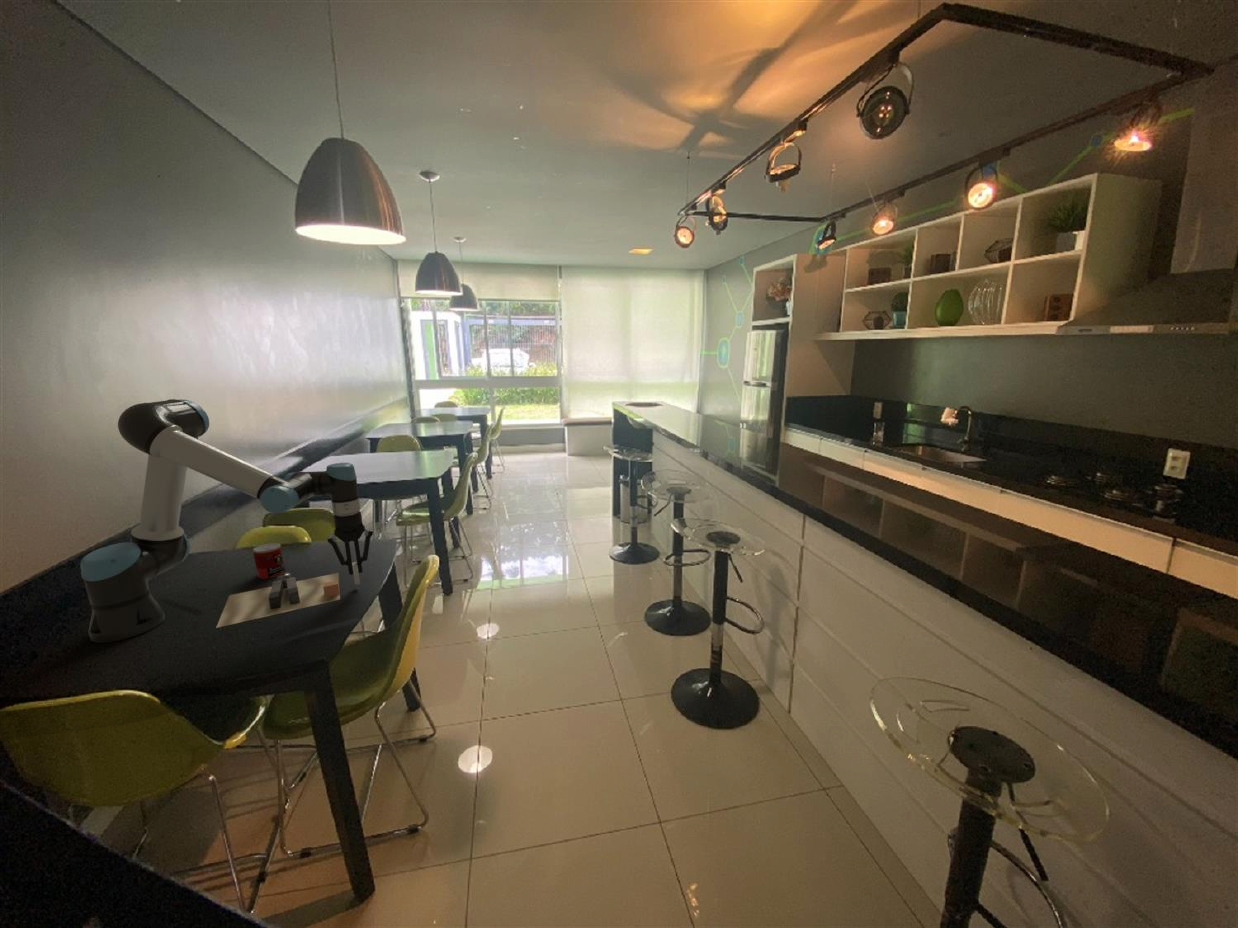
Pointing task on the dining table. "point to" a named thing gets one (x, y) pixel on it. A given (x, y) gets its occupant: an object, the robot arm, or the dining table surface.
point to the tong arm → (293, 591)
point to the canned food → (268, 560)
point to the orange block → (331, 588)
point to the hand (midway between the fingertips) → (357, 582)
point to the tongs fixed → (278, 590)
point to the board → (258, 603)
